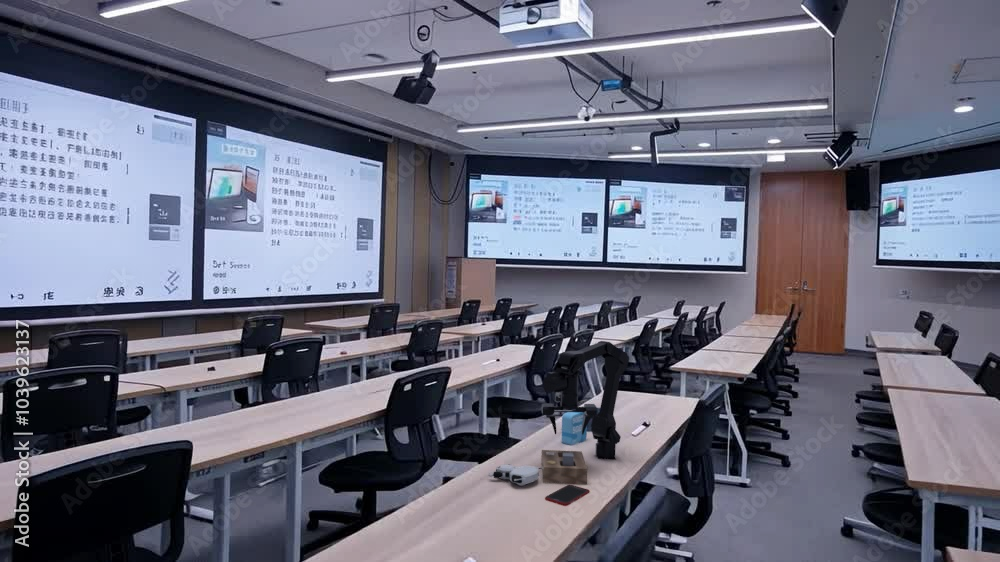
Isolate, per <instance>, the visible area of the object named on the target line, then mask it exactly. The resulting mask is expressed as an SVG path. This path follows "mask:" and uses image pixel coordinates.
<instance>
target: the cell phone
mask: <svg viewBox="0 0 1000 562" xmlns="http://www.w3.org/2000/svg"><path fill="white" fill-rule="evenodd" d="M588 494H590V490H589V489H588V488H584V487H581V486H578V485H575V484H566V485H564V486H563V487H561V488H559V489H557V490H556V491H554V492H551V493H550V494H548V495H546V496H545V497H544V500H545V501H547V502H550V503H554V504H557V505H559V506H565V507H567V506H569V505H572V503H574V502H576V501H578V500H579V499H581V498H583V497H584V496H586V495H588Z"/></svg>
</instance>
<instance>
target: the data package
mask: <svg viewBox="0 0 1000 562" xmlns="http://www.w3.org/2000/svg"><path fill="white" fill-rule="evenodd" d="M582 422H583V412H567V413H566V412H563V414H562V416H561V443H562V444H565V445H569V446H573V445H575V444H580V443H582V442H584V441H586V439H587V426H586V429H585V431H584V434H583V435H582Z"/></svg>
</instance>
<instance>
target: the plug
mask: <svg viewBox="0 0 1000 562" xmlns="http://www.w3.org/2000/svg"><path fill="white" fill-rule="evenodd" d="M573 465H574V455H573V453H563V457H562V466H573Z"/></svg>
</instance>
